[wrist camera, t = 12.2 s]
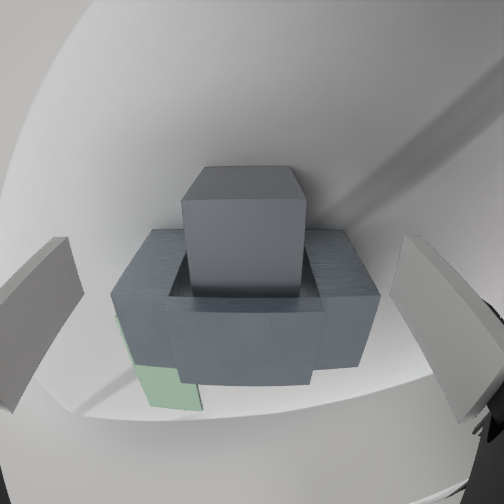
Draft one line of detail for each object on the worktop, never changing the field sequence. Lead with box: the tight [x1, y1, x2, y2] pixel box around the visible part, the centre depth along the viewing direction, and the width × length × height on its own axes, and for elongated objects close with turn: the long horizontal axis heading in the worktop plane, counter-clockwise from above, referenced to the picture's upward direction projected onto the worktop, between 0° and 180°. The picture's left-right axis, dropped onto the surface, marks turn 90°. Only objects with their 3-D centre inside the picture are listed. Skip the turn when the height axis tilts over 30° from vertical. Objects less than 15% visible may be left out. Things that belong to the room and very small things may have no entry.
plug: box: [181, 166, 307, 298], centre depth 21 cm, size 17×6×8 cm, turn 1°
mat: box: [115, 315, 202, 411], centre depth 31 cm, size 16×7×1 cm, turn 0°
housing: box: [110, 229, 381, 386], centre depth 20 cm, size 6×15×10 cm, turn 90°
